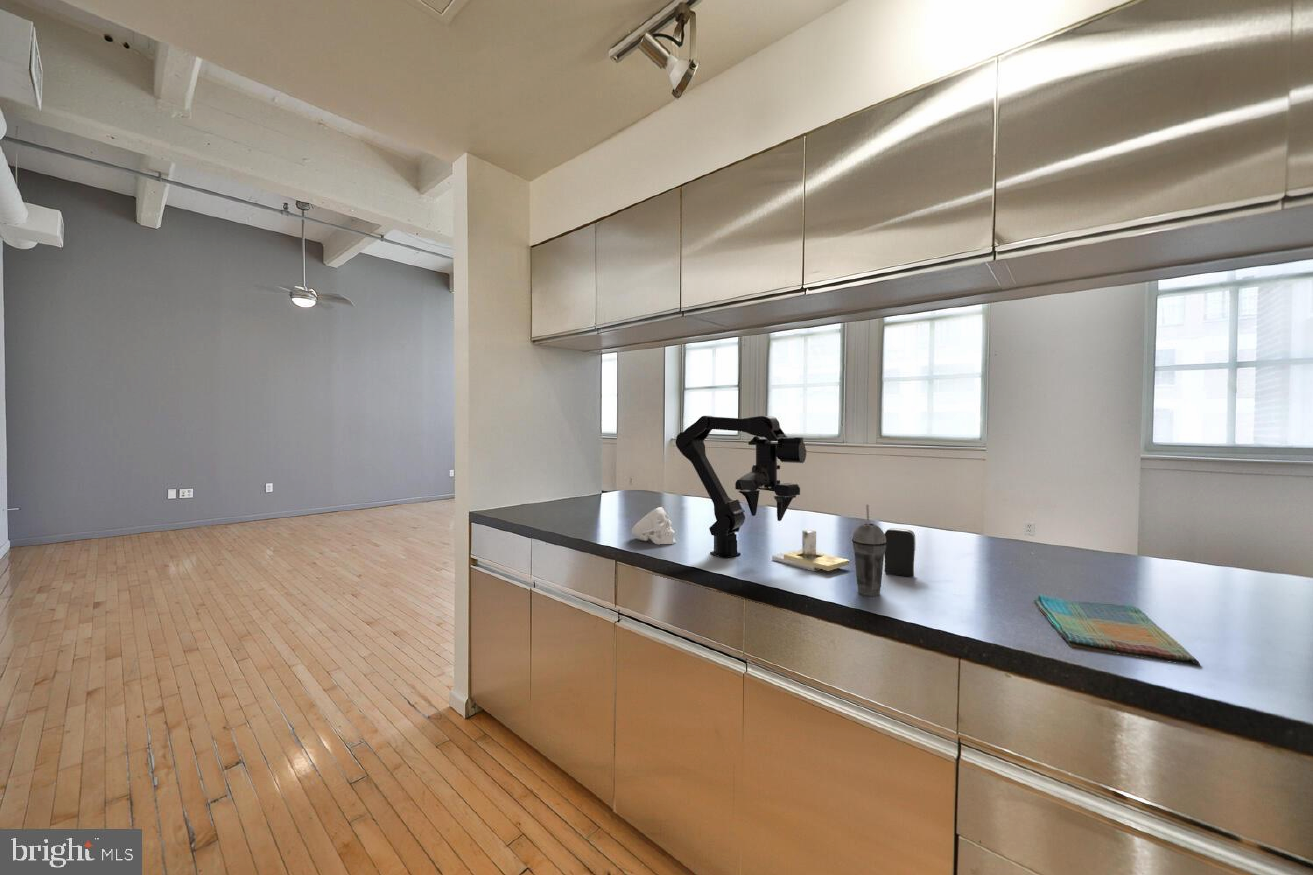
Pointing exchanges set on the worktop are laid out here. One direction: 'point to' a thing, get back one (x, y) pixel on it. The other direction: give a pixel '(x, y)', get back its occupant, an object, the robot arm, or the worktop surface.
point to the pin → (809, 544)
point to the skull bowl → (655, 528)
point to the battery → (900, 552)
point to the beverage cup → (869, 557)
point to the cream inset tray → (811, 561)
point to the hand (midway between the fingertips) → (766, 518)
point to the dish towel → (1112, 629)
